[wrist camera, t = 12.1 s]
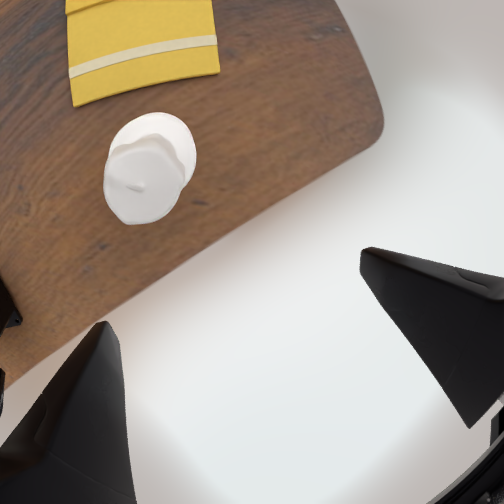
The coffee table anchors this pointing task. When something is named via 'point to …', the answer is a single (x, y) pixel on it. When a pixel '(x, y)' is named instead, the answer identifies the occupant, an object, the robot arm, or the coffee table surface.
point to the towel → (137, 44)
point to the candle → (148, 167)
